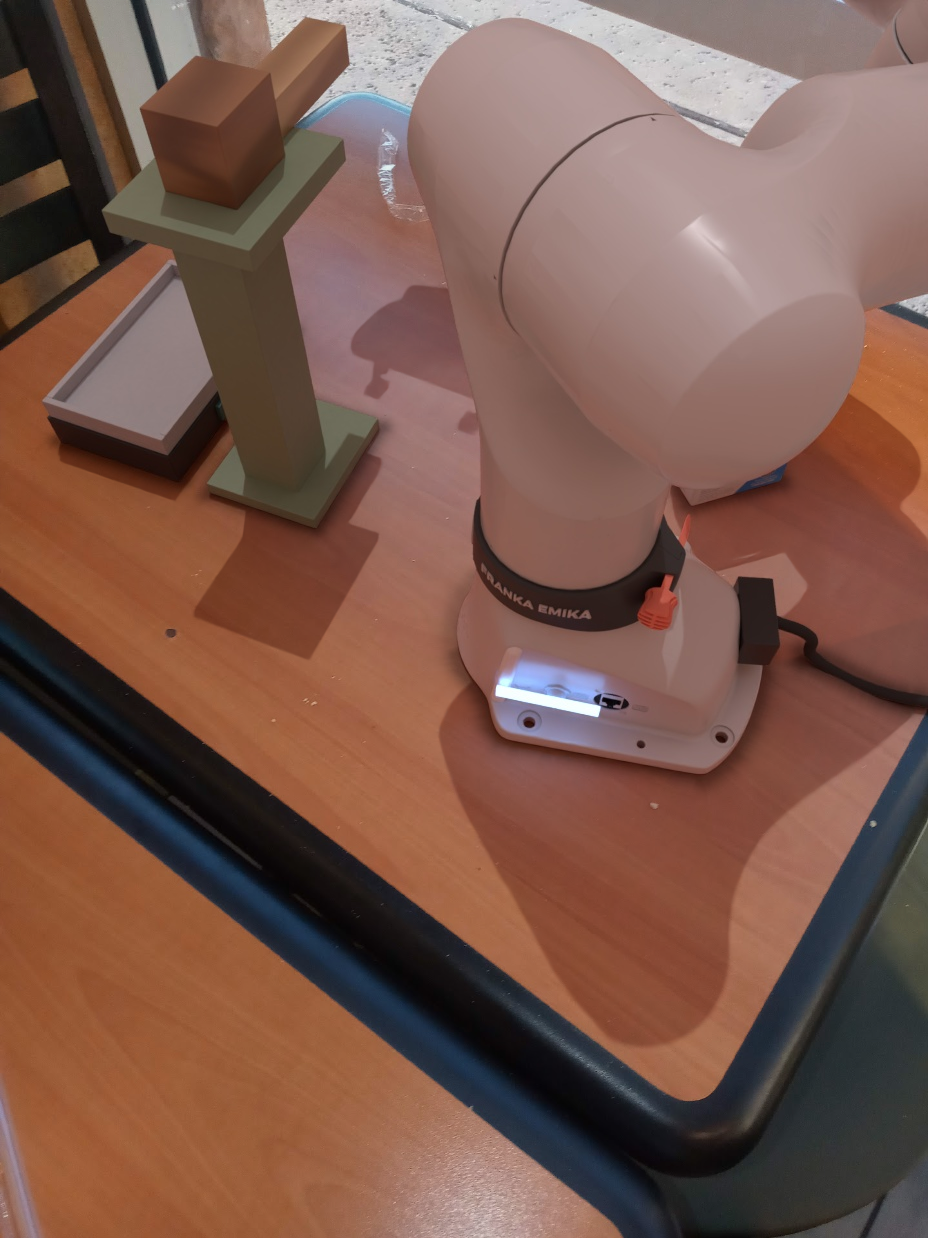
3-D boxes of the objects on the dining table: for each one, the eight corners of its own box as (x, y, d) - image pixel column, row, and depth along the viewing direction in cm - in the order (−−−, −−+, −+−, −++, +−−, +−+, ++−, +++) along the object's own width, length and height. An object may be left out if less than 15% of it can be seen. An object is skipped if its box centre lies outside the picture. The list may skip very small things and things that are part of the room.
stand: (379, 427, 79) (343, 137, 57) (316, 529, 74) (248, 250, 52) (278, 396, 82) (206, 105, 59) (209, 492, 76) (101, 210, 54)
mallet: (363, 67, 62) (355, -16, 57) (237, 210, 54) (216, 126, 49) (298, 52, 63) (285, -30, 58) (164, 191, 55) (138, 107, 50)
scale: (295, 332, 86) (286, 289, 82) (182, 483, 76) (166, 444, 72) (182, 299, 88) (168, 256, 84) (60, 441, 79) (37, 401, 75)
